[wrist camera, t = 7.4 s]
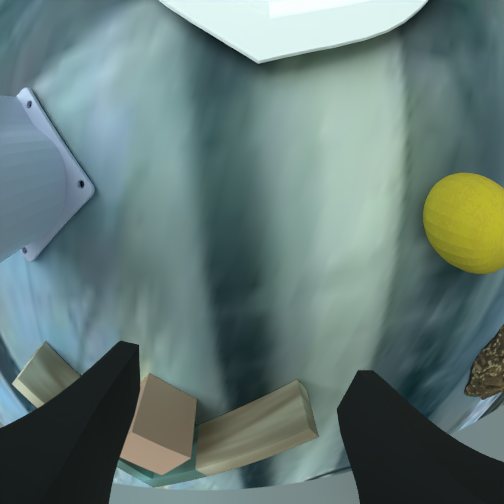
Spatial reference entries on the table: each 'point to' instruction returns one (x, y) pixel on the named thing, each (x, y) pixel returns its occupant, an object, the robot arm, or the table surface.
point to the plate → (293, 23)
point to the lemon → (467, 222)
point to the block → (160, 427)
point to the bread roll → (488, 369)
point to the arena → (205, 434)
